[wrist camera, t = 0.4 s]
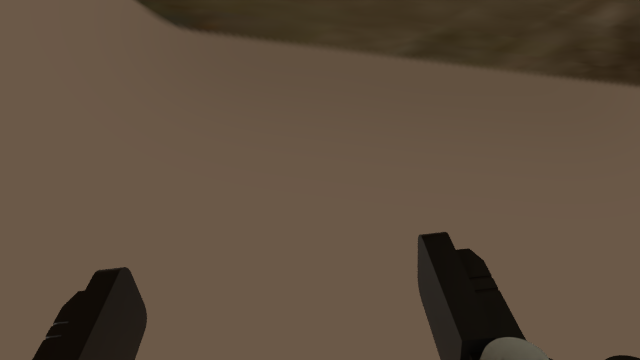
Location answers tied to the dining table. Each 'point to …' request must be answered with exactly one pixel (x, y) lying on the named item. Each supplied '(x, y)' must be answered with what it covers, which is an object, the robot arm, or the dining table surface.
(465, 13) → the dining table surface
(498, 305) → the robot arm
